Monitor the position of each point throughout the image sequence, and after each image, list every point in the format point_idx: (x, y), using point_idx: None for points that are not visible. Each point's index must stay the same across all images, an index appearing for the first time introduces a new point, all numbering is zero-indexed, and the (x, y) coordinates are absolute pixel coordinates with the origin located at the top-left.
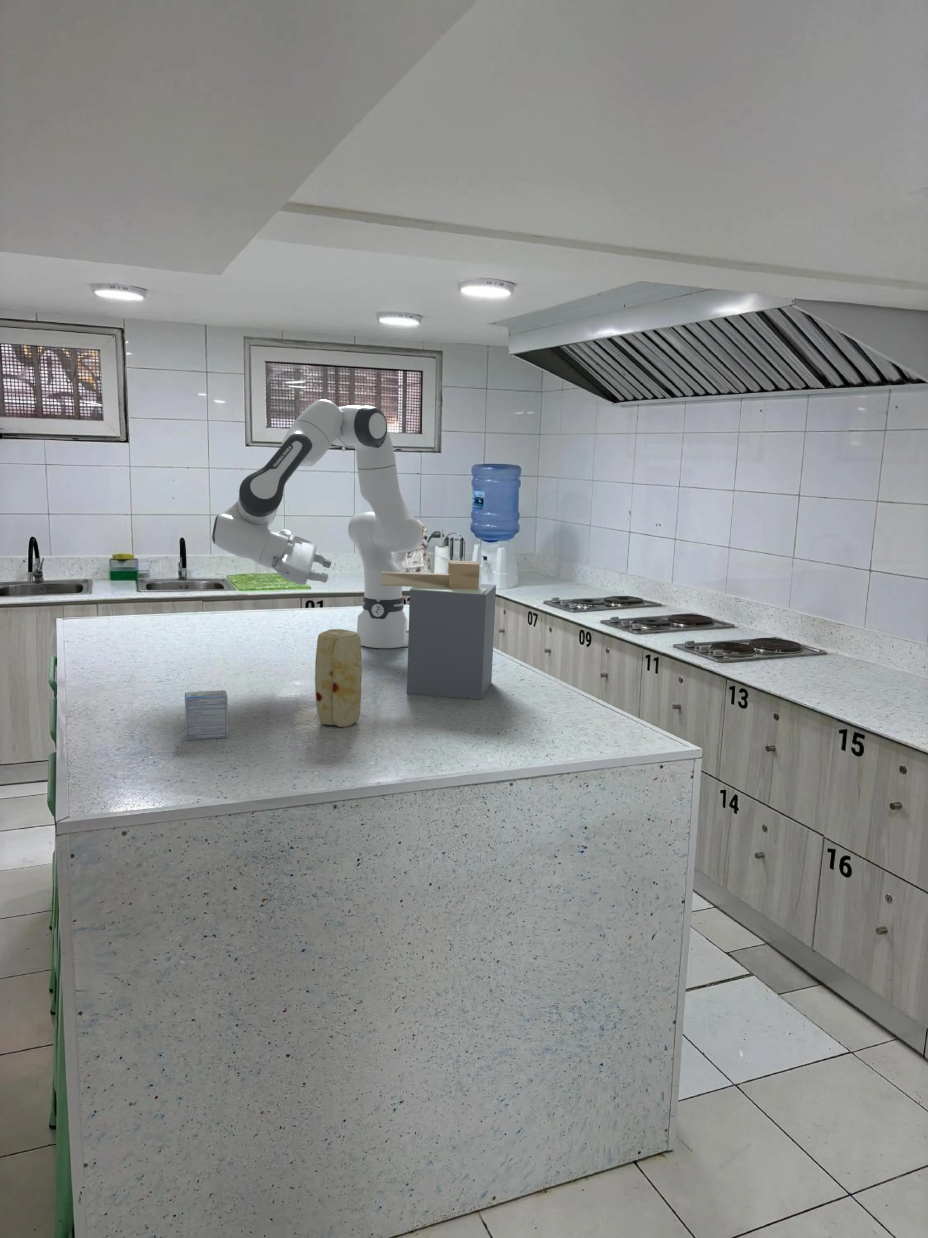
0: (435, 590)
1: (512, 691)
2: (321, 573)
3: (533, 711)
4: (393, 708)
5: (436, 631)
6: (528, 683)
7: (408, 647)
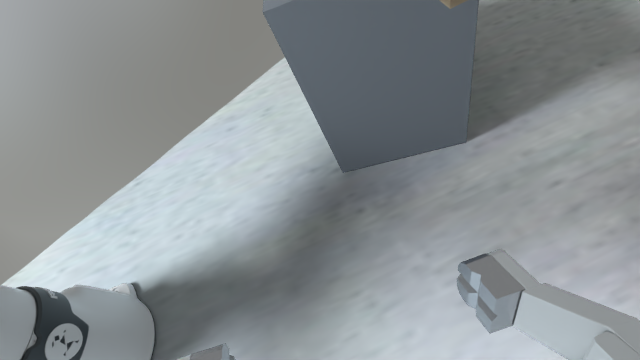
0: None
1: None
2: (525, 292)
3: None
4: (577, 114)
5: None
6: None
7: (471, 77)
